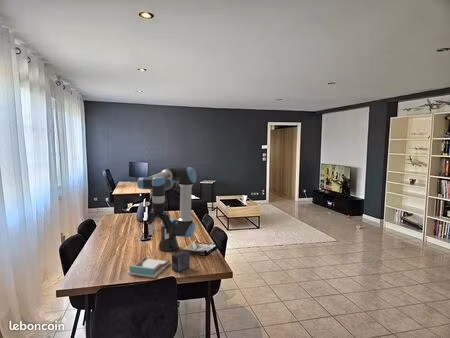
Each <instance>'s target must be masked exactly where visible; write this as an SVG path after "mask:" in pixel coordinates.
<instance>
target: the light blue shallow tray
mask: <svg viewBox="0 0 450 338" xmlns="http://www.w3.org/2000/svg"><path fill="white" fill-rule="evenodd" d="M170 264H171V259H167V260H161V259H151V258H147V256H144V257H142V258H141V259H140V260H139V261H137V262H136V263H135V264H134V265H132V264H130V265H129V270H128V271H127V272H126V273H127V275H131V276H132V275H134V276H140V277H148V278H155V279H156V277H157V276H158V275H159V274H160V273H162V272H163V271H164V269H166V268H167V266H169V265H170Z"/></svg>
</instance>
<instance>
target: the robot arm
mask: <svg viewBox="0 0 450 338" xmlns="http://www.w3.org/2000/svg"><path fill="white" fill-rule="evenodd" d="M174 182H175V183H177V182H178V186H179V187H180V195H179V218H177V219H176V218H173V217H170V215H169V211H168V210H166V211H165V208H166V203H165V201H166V191H168V190H170V189H172V188H173V185H174ZM195 183H197V172H196V170H195V168H194V167H189V166H187V167H186V166H173V167H169V168H165V169H163V170H161V172H159V173H156V174H153V175H151V176H147V177H144V176H143V177H139V178H138V179H137V182H136V186H137V188H138V189H140V190H151V192H152V193H151V196H152V197H151V198H152V199H151V200H152V201H151V202H152V204H151V206H152V208H150V209H149V210H148V211H149V212H148V215H147V217H146V220H145V223H146V224H148V235H149V236H151V235H153V234H154V221H155V219H157V218H158V219H159V220H161V222H160V240H159V245H158V250H159V251H160V252H173V251H176V250H178V249H179V243H178V241H177V237H180V238H181V237H182V238H190V237H191V238H192V236H193V235H194V233H195V230H196V222H194V219H193V218H192V190H193V189H192V187H193V186H194V184H195Z"/></svg>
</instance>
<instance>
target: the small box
mask: <svg viewBox="0 0 450 338" xmlns="http://www.w3.org/2000/svg"><path fill="white" fill-rule="evenodd" d="M189 268H190V252H189V251H186V250H182V251H178V252H175V253H173V254H171V270H172V271H173V272H175V273H177V274H178V273H181V272H183V271H185V270H187V269H189Z"/></svg>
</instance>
